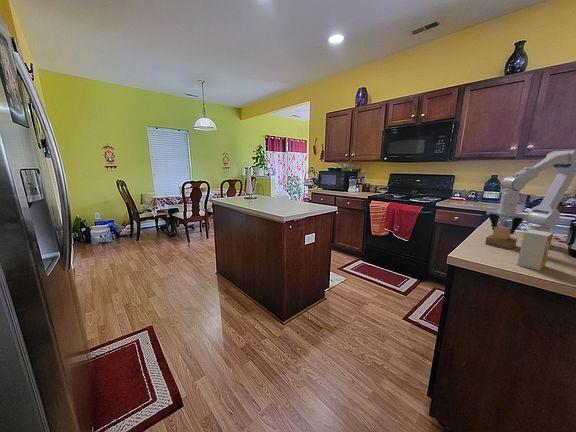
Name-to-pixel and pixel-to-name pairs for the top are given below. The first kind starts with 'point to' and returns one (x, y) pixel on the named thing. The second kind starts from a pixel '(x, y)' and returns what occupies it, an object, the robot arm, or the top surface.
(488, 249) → the top surface
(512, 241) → the walnut block
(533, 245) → the small box
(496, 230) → the terracotta cube
